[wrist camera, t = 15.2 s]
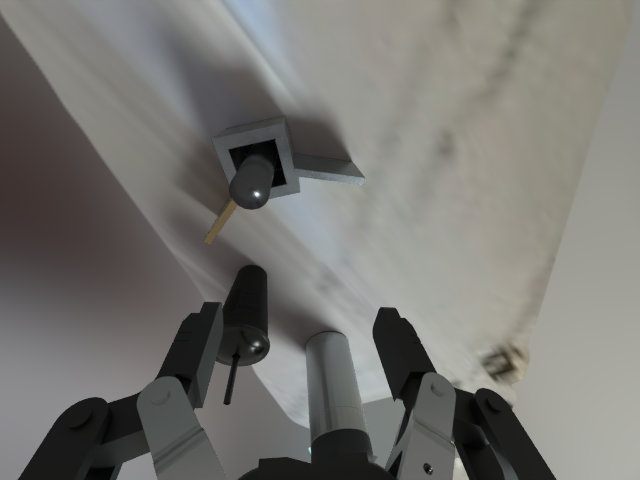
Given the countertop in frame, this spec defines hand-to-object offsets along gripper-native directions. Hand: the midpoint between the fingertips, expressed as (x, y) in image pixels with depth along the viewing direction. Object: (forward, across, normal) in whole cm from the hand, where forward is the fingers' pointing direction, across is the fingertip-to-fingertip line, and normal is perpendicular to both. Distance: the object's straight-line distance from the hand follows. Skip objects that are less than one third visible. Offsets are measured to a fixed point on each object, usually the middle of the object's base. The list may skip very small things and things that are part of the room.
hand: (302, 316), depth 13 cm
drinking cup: (+26, +6, +18) cm, 32 cm away
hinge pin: (+25, +4, -2) cm, 26 cm away
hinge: (+25, +3, -1) cm, 25 cm away
